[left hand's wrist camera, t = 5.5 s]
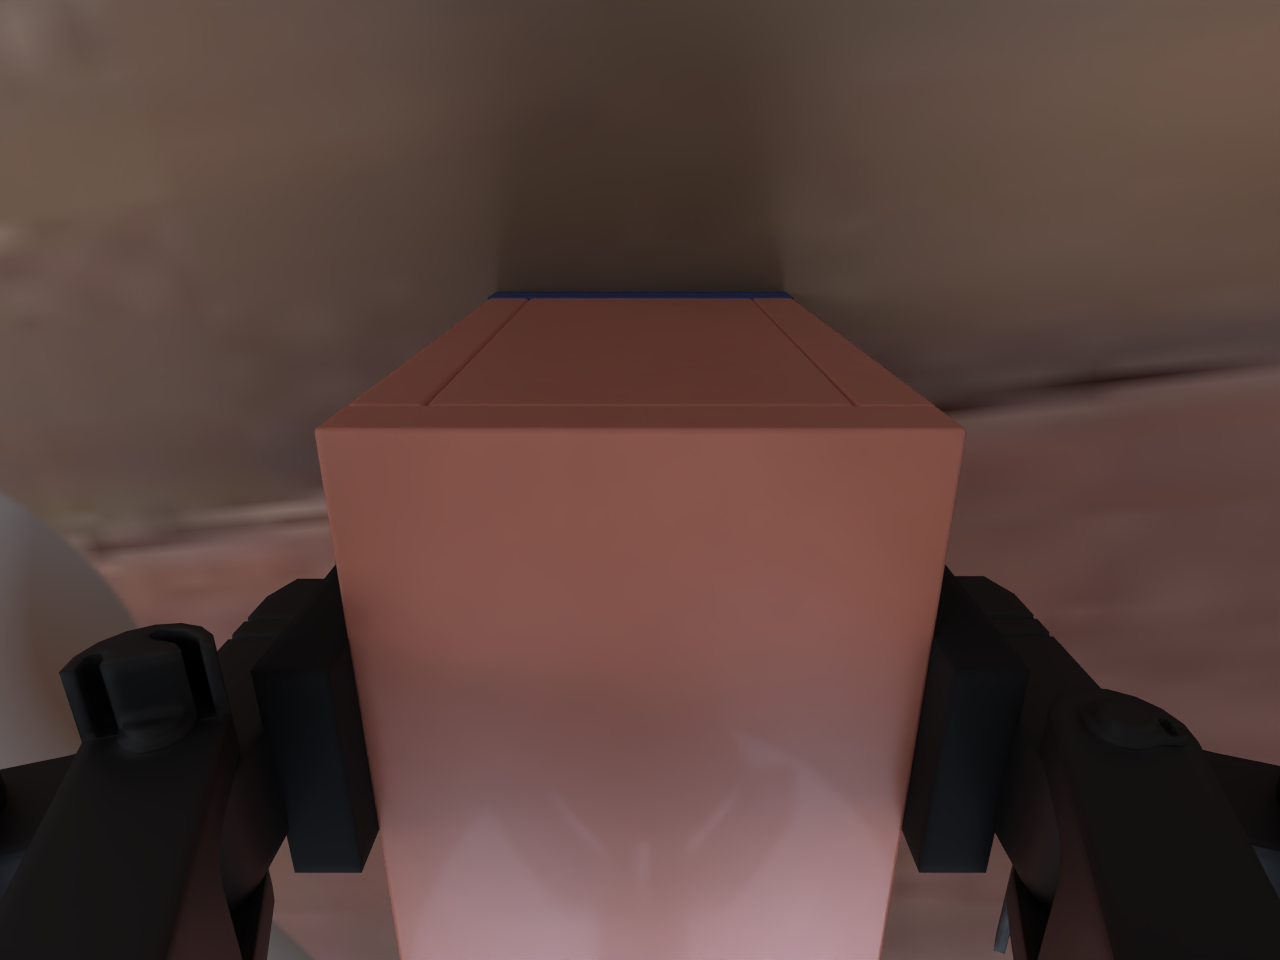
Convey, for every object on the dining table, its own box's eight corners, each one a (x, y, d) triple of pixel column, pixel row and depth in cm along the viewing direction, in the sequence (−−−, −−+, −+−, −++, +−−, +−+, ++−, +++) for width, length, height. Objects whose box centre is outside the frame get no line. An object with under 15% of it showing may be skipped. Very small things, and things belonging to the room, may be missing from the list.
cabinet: (747, 857, 22) (822, 1328, 13) (533, 856, 22) (457, 1327, 13) (785, 291, 16) (970, 427, 7) (495, 291, 16) (311, 427, 7)
